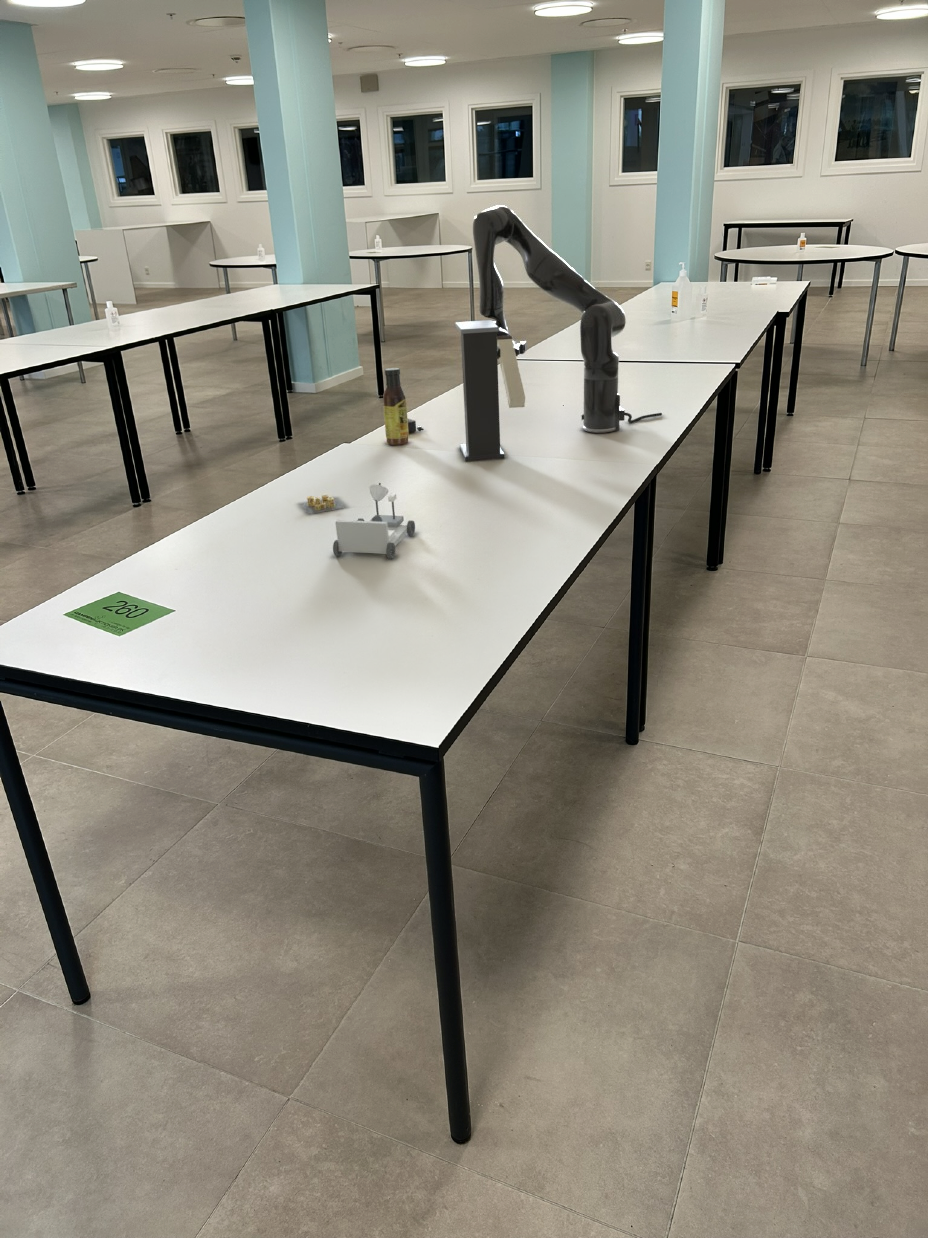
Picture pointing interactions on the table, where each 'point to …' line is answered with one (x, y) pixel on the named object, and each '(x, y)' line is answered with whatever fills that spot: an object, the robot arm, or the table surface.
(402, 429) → the sauce bottle
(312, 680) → the table surface
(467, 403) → the dark grey pillar
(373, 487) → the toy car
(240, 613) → the table surface
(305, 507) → the dice set
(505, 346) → the cream rectangular bar
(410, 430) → the wireless earbuds
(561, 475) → the table surface
